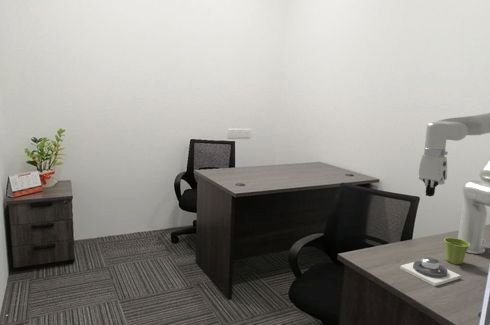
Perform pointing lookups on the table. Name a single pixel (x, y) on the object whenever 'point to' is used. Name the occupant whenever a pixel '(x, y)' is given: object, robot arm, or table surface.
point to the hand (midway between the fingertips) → (429, 195)
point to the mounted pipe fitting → (430, 273)
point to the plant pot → (455, 250)
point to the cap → (430, 264)
